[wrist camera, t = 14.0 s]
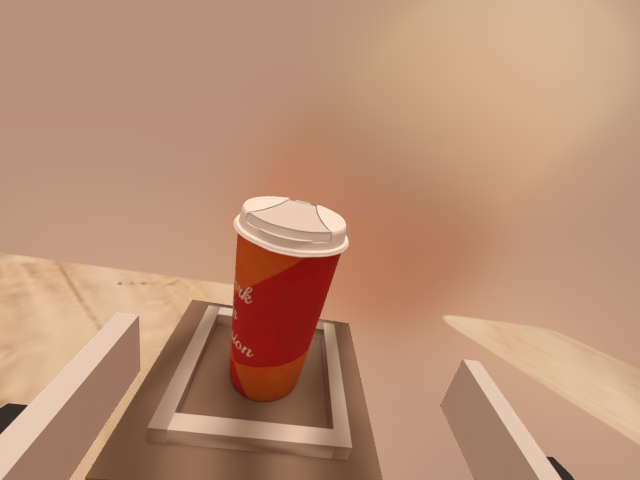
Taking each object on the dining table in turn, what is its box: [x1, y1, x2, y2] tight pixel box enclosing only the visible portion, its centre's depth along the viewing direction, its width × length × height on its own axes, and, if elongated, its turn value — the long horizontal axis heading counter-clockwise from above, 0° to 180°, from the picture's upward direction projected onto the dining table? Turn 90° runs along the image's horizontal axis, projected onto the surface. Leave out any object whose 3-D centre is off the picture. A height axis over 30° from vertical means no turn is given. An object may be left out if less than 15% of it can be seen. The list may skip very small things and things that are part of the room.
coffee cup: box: [230, 196, 349, 402], centre depth 24 cm, size 8×8×15 cm
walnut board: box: [85, 300, 382, 480], centre depth 27 cm, size 18×18×2 cm
